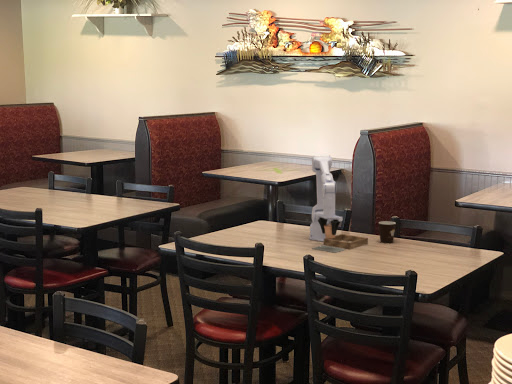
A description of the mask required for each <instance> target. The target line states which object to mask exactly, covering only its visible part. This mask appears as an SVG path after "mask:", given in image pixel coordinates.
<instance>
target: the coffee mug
mask: <svg viewBox="0 0 512 384" xmlns="http://www.w3.org/2000/svg"><path fill="white" fill-rule="evenodd" d="M397 229H398V224H396V222H395V221H390V220H389V221H387V220H386V221H384V220H383V221H379V222H378V230H379V240H380V243H381V244H393V243H394V239H395V233H396V231H397Z"/></svg>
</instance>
